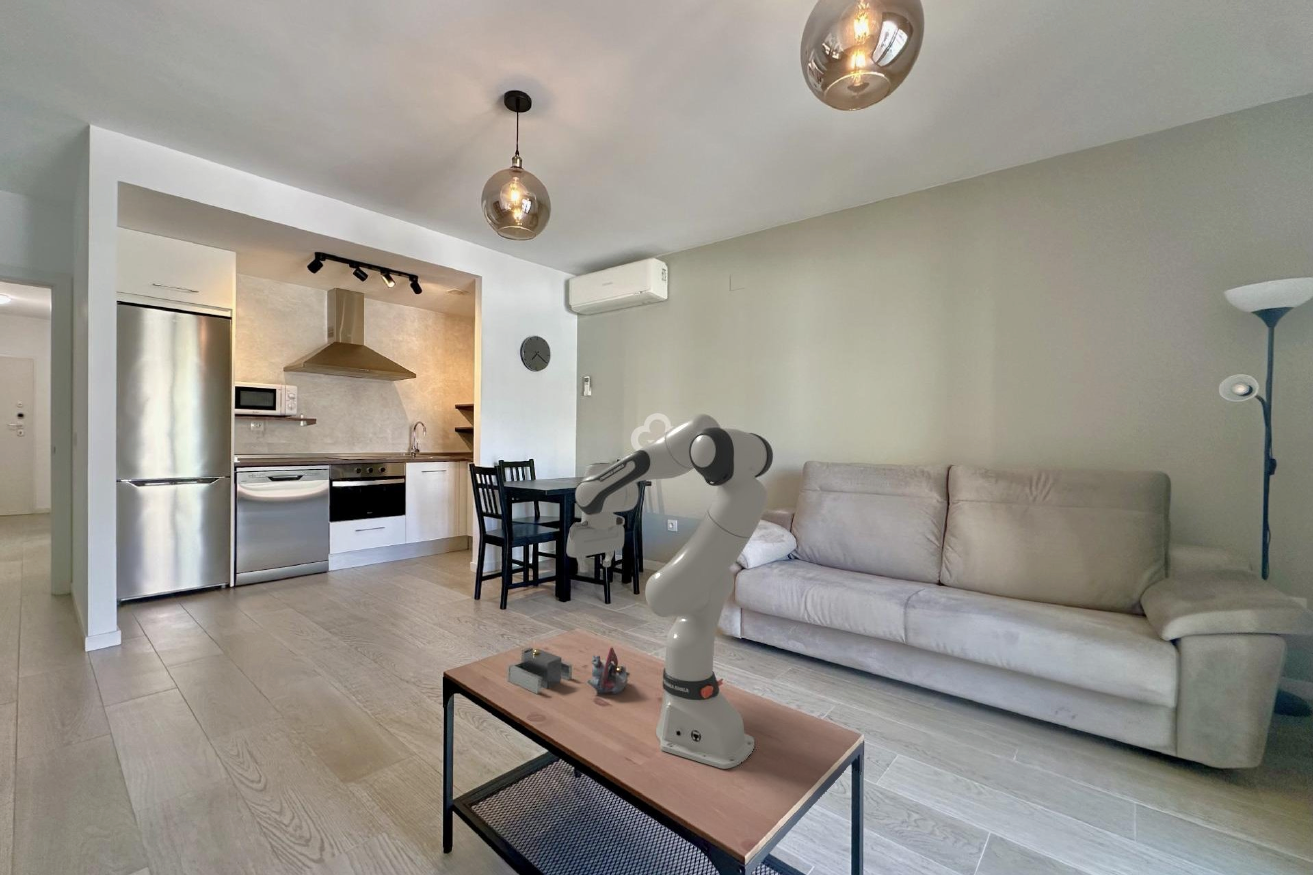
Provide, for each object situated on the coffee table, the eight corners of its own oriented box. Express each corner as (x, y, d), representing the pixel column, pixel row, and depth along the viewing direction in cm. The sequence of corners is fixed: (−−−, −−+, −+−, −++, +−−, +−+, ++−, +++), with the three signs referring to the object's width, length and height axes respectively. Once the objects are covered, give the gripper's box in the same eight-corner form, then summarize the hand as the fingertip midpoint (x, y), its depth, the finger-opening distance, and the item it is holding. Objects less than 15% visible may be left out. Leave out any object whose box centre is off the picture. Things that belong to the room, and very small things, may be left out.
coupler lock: (560, 683, 145) (561, 654, 146) (546, 689, 141) (547, 659, 142) (536, 673, 151) (537, 645, 151) (522, 678, 147) (523, 650, 147)
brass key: (627, 671, 154) (627, 666, 154) (624, 676, 151) (624, 671, 151) (603, 668, 156) (604, 663, 156) (600, 673, 153) (600, 668, 153)
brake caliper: (627, 691, 136) (602, 650, 138) (594, 712, 138) (570, 671, 140) (639, 674, 147) (616, 636, 149) (609, 693, 149) (586, 656, 151)
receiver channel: (571, 678, 148) (572, 653, 148) (537, 693, 138) (538, 667, 138) (541, 666, 155) (542, 642, 156) (507, 680, 146) (508, 654, 146)
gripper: (578, 524, 138) (576, 577, 138) (628, 518, 155) (626, 565, 154) (562, 521, 142) (560, 573, 142) (612, 516, 159) (610, 562, 158)
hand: (595, 569), depth 148 cm, fingers open, 8 cm apart
